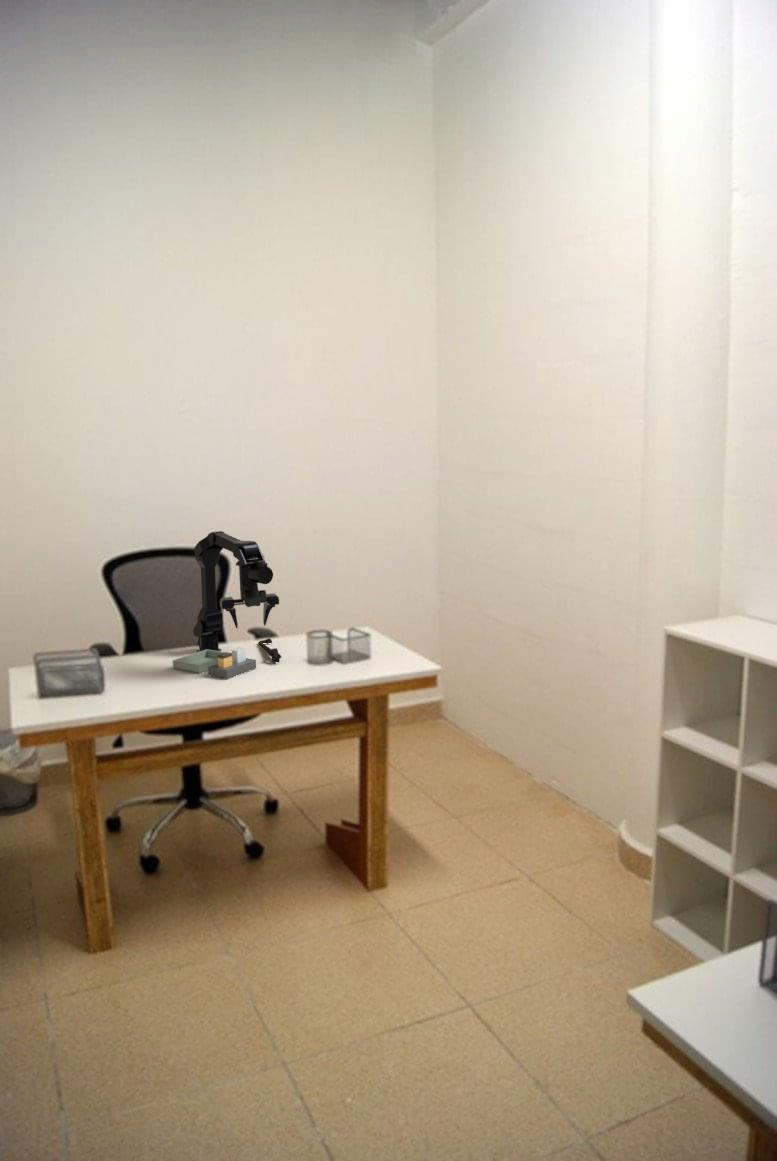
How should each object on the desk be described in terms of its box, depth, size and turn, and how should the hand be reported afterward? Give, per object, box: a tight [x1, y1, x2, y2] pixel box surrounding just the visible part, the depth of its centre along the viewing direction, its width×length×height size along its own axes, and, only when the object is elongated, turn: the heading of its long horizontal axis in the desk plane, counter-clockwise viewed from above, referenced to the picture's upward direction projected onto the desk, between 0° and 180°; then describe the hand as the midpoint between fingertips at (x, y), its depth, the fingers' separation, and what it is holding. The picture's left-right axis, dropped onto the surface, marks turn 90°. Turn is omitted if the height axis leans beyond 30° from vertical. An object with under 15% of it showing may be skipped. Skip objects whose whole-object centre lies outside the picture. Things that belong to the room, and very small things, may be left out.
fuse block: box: [207, 657, 257, 680], centre depth 290 cm, size 8×14×3 cm, turn 147°
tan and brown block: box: [218, 651, 232, 668], centre depth 287 cm, size 2×4×7 cm, turn 148°
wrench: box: [257, 638, 282, 663], centre depth 312 cm, size 5×5×30 cm
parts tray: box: [172, 649, 226, 674], centre depth 299 cm, size 12×16×3 cm
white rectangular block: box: [230, 647, 247, 663], centre depth 293 cm, size 2×4×7 cm, turn 147°
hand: (250, 626), depth 293 cm, fingers open, 9 cm apart
